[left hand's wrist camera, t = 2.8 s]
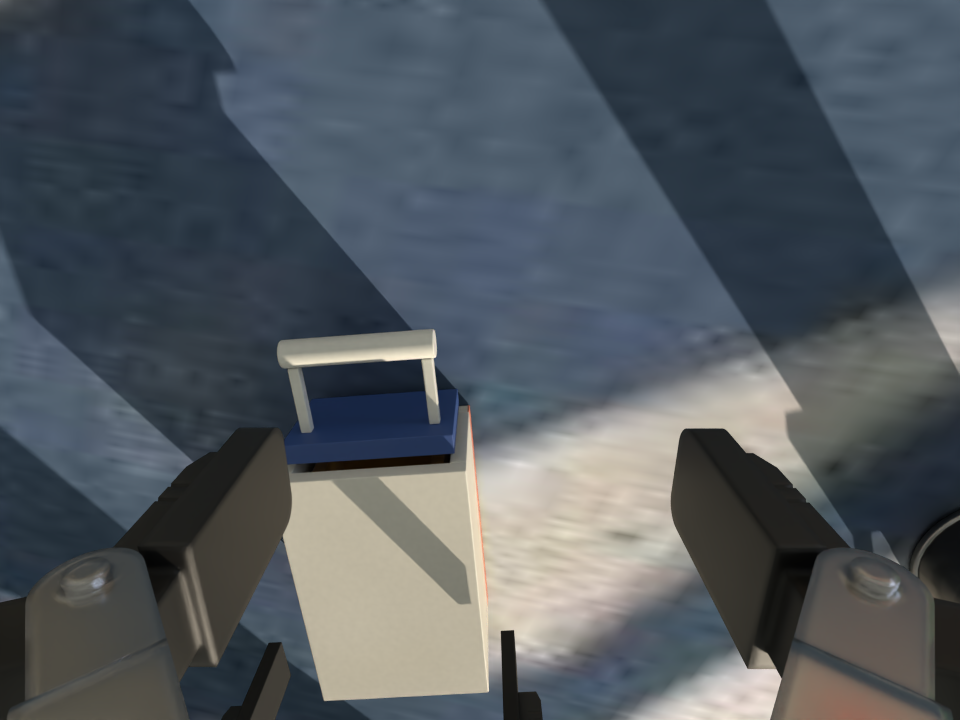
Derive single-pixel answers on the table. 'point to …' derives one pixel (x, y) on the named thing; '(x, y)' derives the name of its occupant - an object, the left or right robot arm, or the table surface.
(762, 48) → the table surface
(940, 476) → the table surface
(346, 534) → the cabinet
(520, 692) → the right robot arm
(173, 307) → the table surface
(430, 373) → the drawer
